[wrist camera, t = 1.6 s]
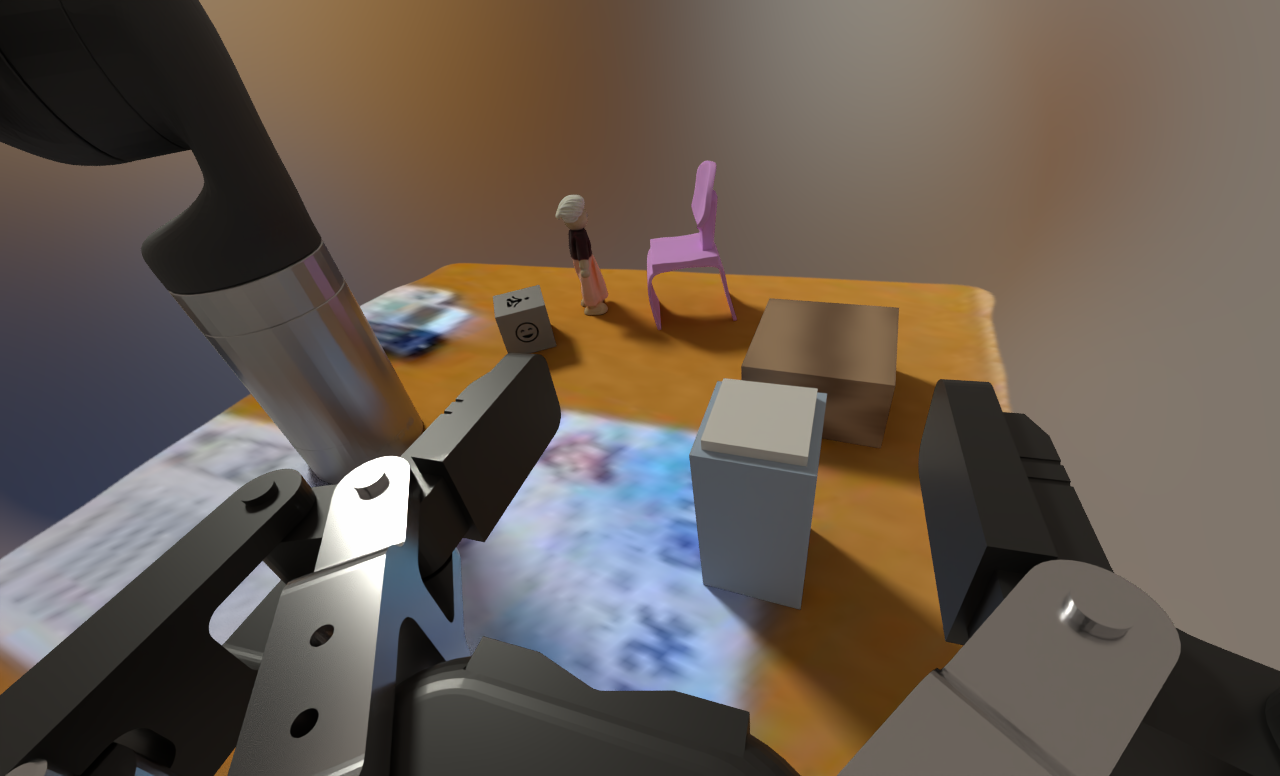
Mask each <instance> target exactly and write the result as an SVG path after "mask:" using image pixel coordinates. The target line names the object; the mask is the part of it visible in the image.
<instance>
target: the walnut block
mask: <svg viewBox="0 0 1280 776" xmlns="http://www.w3.org/2000/svg"><path fill="white" fill-rule="evenodd" d="M898 315H899V308H894V307H881V306H867V305H853V304H839V303H825V302H812V301H798V300H784V299H769V301H768V304H767V306H766V308H765V311H764V313H763V316H762V318H761V320H760V323H759V325H758V328H757V330H756V332H755V335H754V337H753V340H752V342H751V344H750V347H749V349H748V352H747V354H746V356H745V359H744V361H743V364H742V366H741V368H742V380H743V381H752V382H761V383H770V384H780V385H789V386H798V387H807V388H816V389H818V391H817V392H818V393H827V399H826V407H825V415H824V424H823V432H822V438H823V439H829V440H834V441H840V442H846V443H852V444H858V445H864V446H869V447H875V448H881V445H882V440H883V436H884V432H885V428H886V423H887V419H888V415H889V410H890V406H891V402H892V398H893V393H894V389H895V381H896V359H897V337H898Z"/></svg>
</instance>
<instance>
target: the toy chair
mask: <svg viewBox="0 0 1280 776" xmlns="http://www.w3.org/2000/svg"><path fill="white" fill-rule="evenodd" d="M715 173H716V163H715V162H712V161H704V162H703V163H701V164H700V166H699V168H698V170H697V176H696V185H695V192H694V197H693V201H692V205H691V206H692V210H693V214H694V217H695V220H696V222H697V229H699V230H700V233H695V234H690V235H686V236H678V237H667V238H657V239H651V240H650V242H651V248H650V250H649V252H648V257H647V278H648V295H649V301H650V305H651V309H652V313H653V316H654V319H655V322H656V325H657V328H658V330H661V319H660V305H659V300H658V298H657V296H656V294H655V292H654V289H653V286H652V283H651V282H652V279H653V277H654V276H656V275H657V274H660V273H663V272H668V271H673V270H677V269H682V268H690V267H708V266H709V267H711V266H712V267H716V268H718V269H719V270H720V275H721V279H722V283H723V286H724V290H725V294H726V297H727V301H728V304H729V307H730V311H731V314H732V317H733V320H734V321H736V320H737V318H736V315H735V312H734V309H733V305H732V302H731V299H730V295H729V291H728V287H727V282H726V277H725V272H724V269H723V266H722V263H721V259H720V256H719V253H718V250H717V247H716V245H715V243H714V233H715V221H716V209H717V195H716V192H715V191H714V190H713V184H714V178H715Z"/></svg>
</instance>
